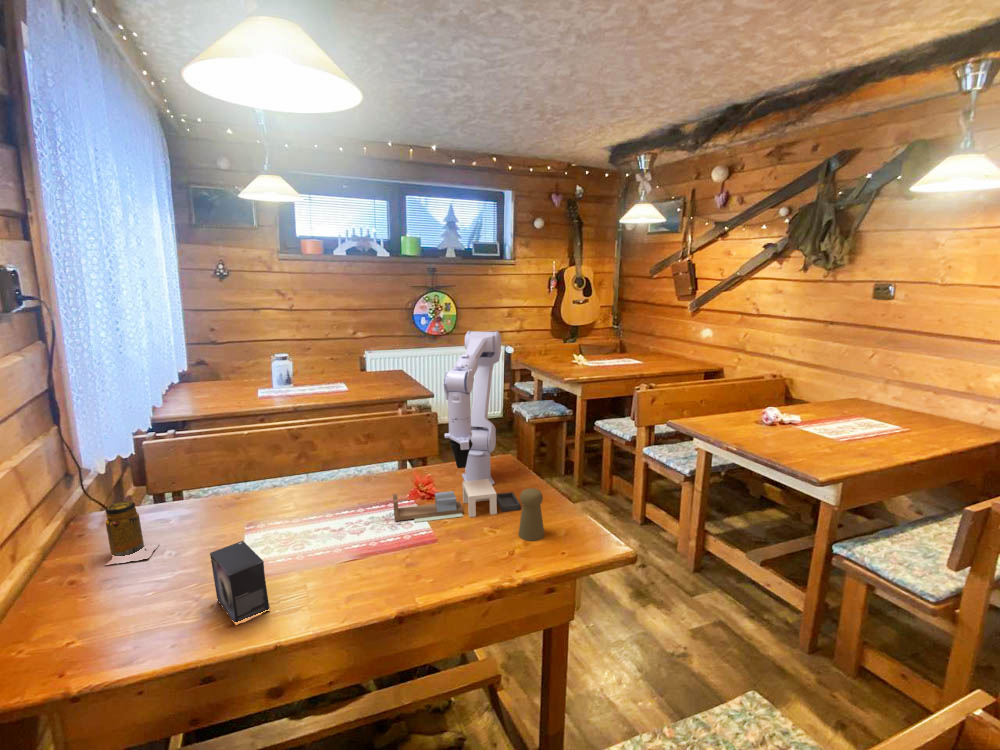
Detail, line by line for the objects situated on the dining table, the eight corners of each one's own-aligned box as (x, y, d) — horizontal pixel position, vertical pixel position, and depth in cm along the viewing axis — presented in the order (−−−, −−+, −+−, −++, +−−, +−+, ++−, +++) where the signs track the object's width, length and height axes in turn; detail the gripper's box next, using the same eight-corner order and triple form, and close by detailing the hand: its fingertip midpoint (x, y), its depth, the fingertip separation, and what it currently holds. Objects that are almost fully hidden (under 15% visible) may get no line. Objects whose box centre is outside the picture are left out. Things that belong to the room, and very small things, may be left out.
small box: (214, 602, 102) (207, 551, 100) (249, 587, 107) (243, 539, 104) (234, 628, 95) (227, 574, 93) (271, 611, 99) (265, 559, 97)
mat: (412, 508, 140) (412, 507, 140) (458, 503, 142) (458, 502, 142) (414, 522, 132) (414, 521, 132) (463, 516, 135) (463, 515, 135)
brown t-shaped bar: (393, 512, 137) (392, 494, 136) (459, 504, 141) (459, 486, 140) (394, 520, 132) (393, 502, 131) (462, 512, 136) (462, 494, 135)
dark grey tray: (494, 498, 144) (494, 494, 144) (512, 496, 146) (512, 492, 145) (501, 512, 137) (501, 506, 137) (520, 509, 138) (520, 504, 138)
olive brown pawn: (545, 541, 122) (545, 496, 120) (518, 541, 122) (518, 496, 120) (543, 528, 128) (543, 485, 126) (518, 528, 128) (518, 485, 126)
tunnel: (463, 501, 143) (462, 481, 142) (488, 498, 145) (488, 478, 144) (469, 517, 134) (468, 496, 133) (496, 514, 136) (496, 493, 135)
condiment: (118, 549, 122) (109, 500, 119) (160, 544, 124) (152, 496, 121) (103, 567, 115) (94, 515, 112) (148, 561, 117) (139, 510, 114)
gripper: (440, 410, 143) (442, 458, 145) (447, 426, 129) (449, 479, 132) (466, 408, 144) (468, 456, 147) (476, 423, 130) (478, 476, 133)
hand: (461, 467), depth 139 cm, fingers closed
